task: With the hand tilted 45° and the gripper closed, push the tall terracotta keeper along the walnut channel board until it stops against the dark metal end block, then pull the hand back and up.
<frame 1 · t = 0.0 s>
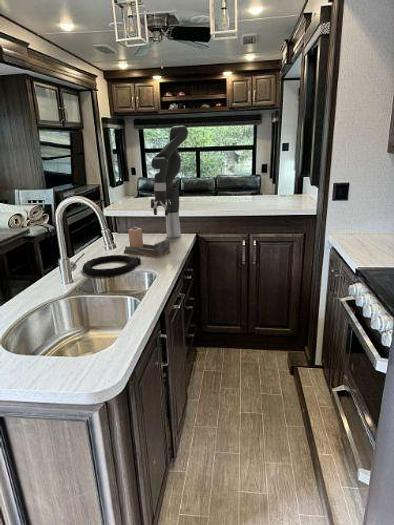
hand: (160, 215, 229), 17 cm above the worktop, tool pointing down, fingers open, 8 cm apart
cable lock: (112, 268, 184), on the worktop
keeper: (135, 238, 209), point 8 cm above the worktop, slide at 0.0 cm
channel board: (147, 252, 208), on the worktop
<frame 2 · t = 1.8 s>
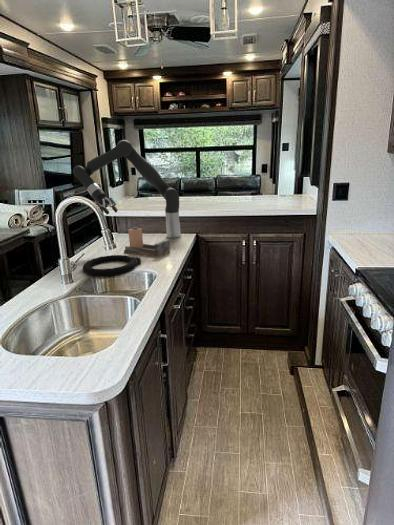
hand: (112, 212, 213), 23 cm above the worktop, tool tilted 45°, fingers open, 7 cm apart
nothing on the worktop moved.
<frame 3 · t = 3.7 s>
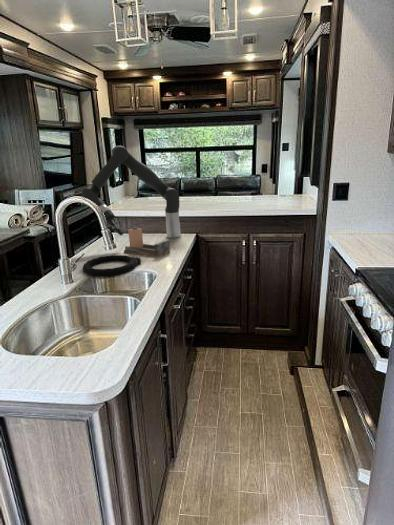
hand: (122, 234, 214), 9 cm above the worktop, tool tilted 45°, fingers closed
nothing on the worktop moved.
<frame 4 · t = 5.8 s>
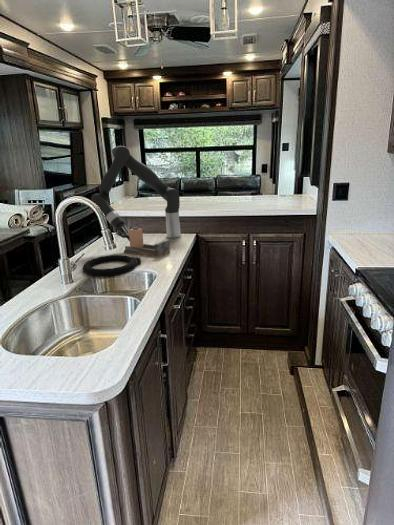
hand: (132, 241, 212), 6 cm above the worktop, tool tilted 45°, fingers closed
keeper: (136, 238, 209), point 8 cm above the worktop, slide at 0.3 cm, touching gripper
everything else where it was.
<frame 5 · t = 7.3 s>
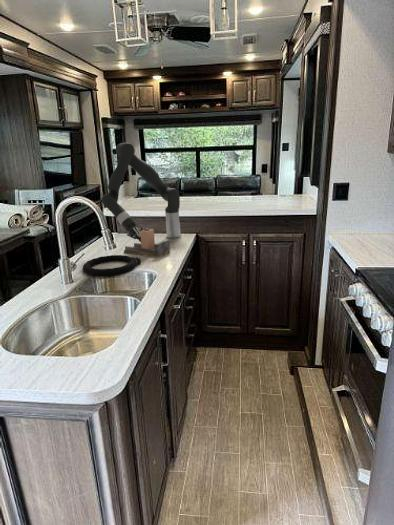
hand: (143, 242, 207), 6 cm above the worktop, tool tilted 45°, fingers closed
keeper: (147, 239, 205), point 8 cm above the worktop, slide at 8.8 cm, touching gripper
everything else where it was.
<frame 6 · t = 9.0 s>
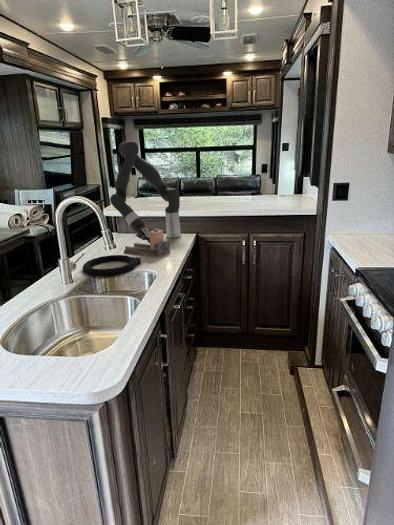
hand: (152, 243, 204), 6 cm above the worktop, tool tilted 45°, fingers closed
keeper: (156, 240, 202), point 8 cm above the worktop, slide at 15.4 cm, touching gripper
everything else where it was.
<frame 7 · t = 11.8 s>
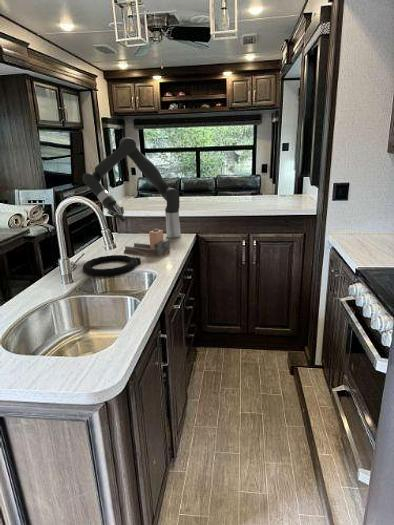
hand: (124, 220, 210), 18 cm above the worktop, tool tilted 45°, fingers closed
keeper: (156, 240, 202), point 8 cm above the worktop, slide at 15.3 cm
everything else where it was.
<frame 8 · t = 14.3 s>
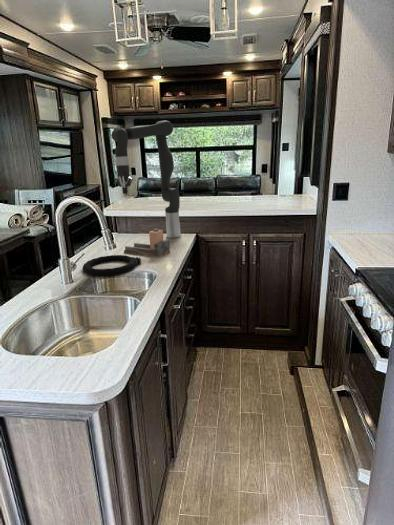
hand: (125, 193, 214), 33 cm above the worktop, tool pointing down, fingers closed
nothing on the worktop moved.
at the end: keeper slide at 15.3 cm; keeper 0.2 cm from the target spot, point 8.1 cm above the worktop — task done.
